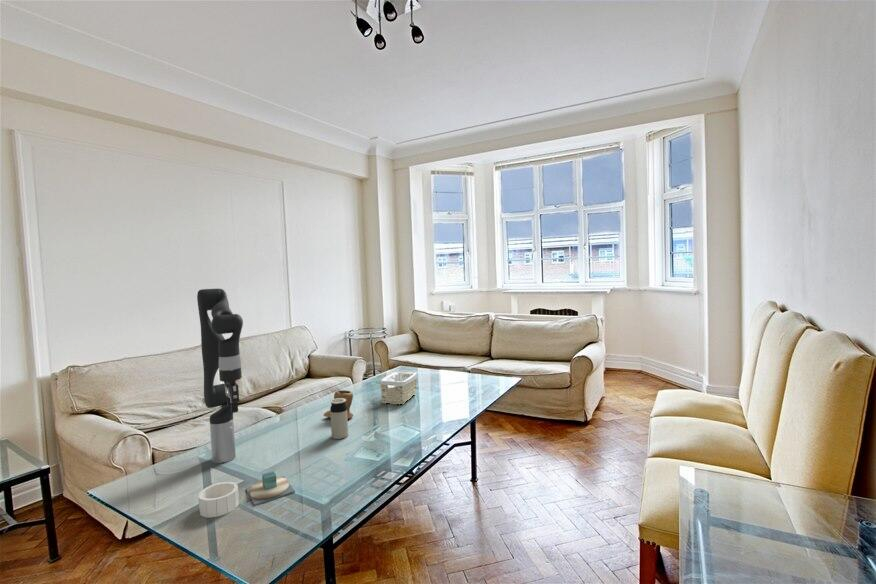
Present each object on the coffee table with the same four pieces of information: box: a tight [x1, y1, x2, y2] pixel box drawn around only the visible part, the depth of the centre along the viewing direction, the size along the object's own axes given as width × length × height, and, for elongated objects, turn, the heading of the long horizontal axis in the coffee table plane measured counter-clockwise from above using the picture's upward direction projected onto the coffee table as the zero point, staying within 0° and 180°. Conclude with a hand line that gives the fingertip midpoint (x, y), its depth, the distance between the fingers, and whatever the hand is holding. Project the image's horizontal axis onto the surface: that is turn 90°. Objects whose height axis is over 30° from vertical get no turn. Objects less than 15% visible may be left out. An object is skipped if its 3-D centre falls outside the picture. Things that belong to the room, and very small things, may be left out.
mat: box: [245, 476, 296, 507], centre depth 158 cm, size 14×14×1 cm
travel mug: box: [329, 398, 349, 440], centre depth 207 cm, size 8×8×18 cm
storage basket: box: [379, 371, 418, 405], centre depth 263 cm, size 24×16×15 cm
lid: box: [249, 470, 290, 499], centre depth 158 cm, size 14×14×6 cm
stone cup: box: [323, 389, 354, 420], centre depth 234 cm, size 15×12×15 cm
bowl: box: [197, 481, 240, 519], centre depth 148 cm, size 12×12×6 cm
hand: (232, 409), depth 160 cm, fingers open, 8 cm apart
